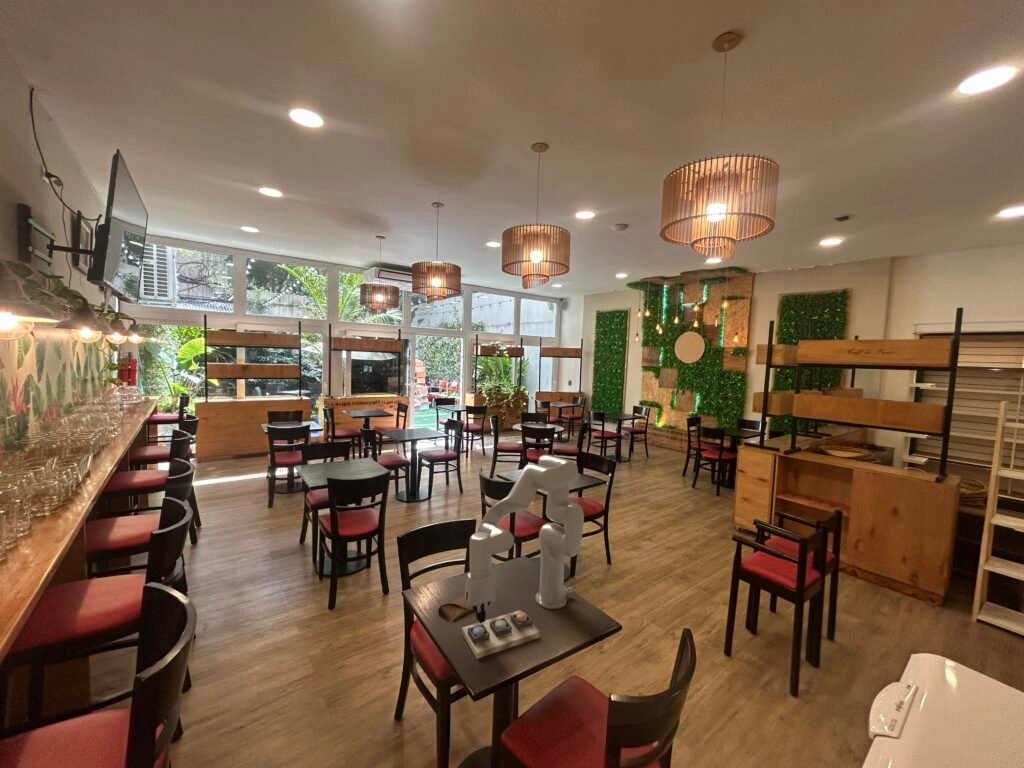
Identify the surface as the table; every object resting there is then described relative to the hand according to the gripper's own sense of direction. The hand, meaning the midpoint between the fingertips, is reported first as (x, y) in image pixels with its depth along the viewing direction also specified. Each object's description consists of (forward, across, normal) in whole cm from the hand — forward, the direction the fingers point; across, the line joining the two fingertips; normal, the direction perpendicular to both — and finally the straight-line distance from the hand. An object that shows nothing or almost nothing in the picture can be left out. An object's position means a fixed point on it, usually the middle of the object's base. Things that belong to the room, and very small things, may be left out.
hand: (480, 620), depth 143 cm
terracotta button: (+5, -16, 0) cm, 17 cm away
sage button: (+6, -7, 0) cm, 9 cm away
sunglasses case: (+8, -1, -19) cm, 21 cm away
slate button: (+5, +1, 0) cm, 5 cm away
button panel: (+8, -7, 0) cm, 11 cm away
